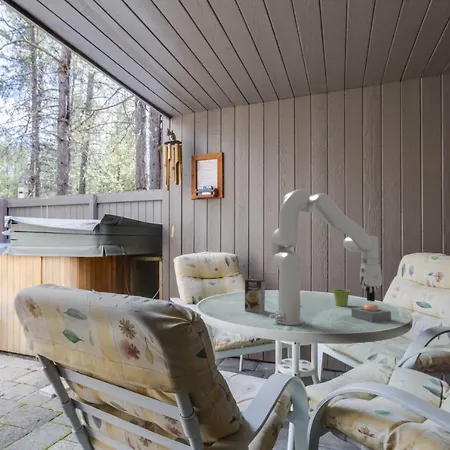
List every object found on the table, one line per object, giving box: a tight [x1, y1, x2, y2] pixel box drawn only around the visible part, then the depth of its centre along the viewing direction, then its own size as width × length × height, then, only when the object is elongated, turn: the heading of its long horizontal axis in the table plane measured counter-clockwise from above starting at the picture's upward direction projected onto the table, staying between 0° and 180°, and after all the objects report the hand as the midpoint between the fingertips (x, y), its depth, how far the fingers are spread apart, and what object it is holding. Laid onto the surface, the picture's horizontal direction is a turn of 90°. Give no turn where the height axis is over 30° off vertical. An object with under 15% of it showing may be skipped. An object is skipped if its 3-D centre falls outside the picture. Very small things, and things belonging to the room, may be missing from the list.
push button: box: [363, 303, 379, 312], centre depth 149 cm, size 6×6×3 cm
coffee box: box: [244, 278, 266, 314], centre depth 164 cm, size 9×6×16 cm
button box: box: [351, 306, 392, 323], centre depth 149 cm, size 12×12×4 cm
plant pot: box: [332, 288, 351, 307], centre depth 180 cm, size 9×9×9 cm
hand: (370, 300), depth 150 cm, fingers closed
